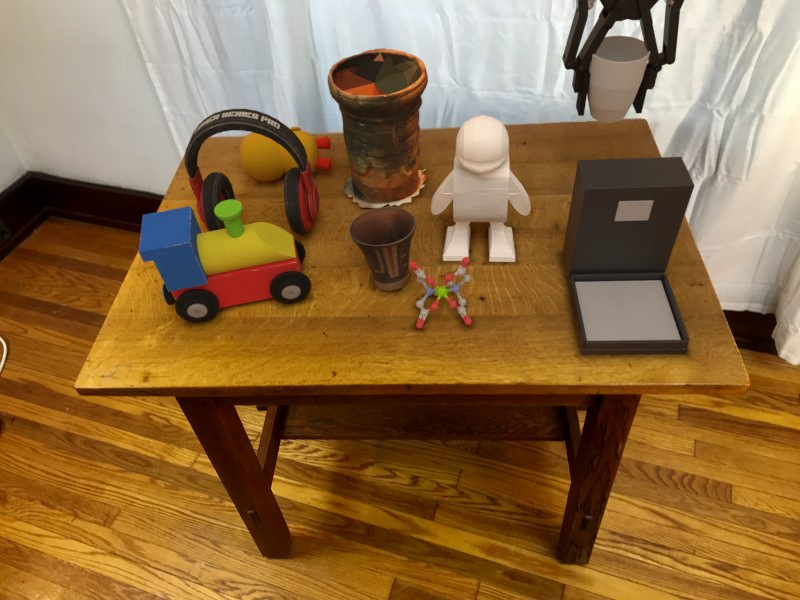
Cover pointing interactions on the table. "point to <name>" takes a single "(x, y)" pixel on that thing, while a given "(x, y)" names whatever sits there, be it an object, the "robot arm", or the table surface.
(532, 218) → the table surface
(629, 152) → the table surface
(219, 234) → the toy train
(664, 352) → the open gift box
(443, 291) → the molecular model
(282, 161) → the toy
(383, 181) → the vessel
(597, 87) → the cup
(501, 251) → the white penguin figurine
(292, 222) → the headphones
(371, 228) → the cup
